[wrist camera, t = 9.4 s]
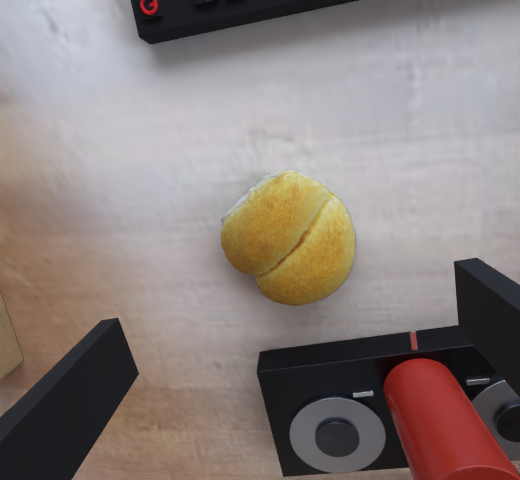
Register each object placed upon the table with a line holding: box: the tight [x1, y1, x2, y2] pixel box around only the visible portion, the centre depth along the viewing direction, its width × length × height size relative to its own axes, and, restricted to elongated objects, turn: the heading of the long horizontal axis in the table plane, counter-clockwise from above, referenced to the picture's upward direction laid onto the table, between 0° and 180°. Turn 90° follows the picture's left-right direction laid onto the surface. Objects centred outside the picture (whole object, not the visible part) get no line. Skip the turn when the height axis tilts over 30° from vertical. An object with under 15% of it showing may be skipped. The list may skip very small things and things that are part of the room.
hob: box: [257, 325, 502, 477], centre depth 25 cm, size 22×12×3 cm, turn 102°
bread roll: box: [221, 170, 356, 306], centre depth 22 cm, size 8×9×4 cm
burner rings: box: [290, 378, 520, 473], centre depth 24 cm, size 19×7×1 cm, turn 102°
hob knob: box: [383, 358, 520, 480], centre depth 20 cm, size 5×5×8 cm
